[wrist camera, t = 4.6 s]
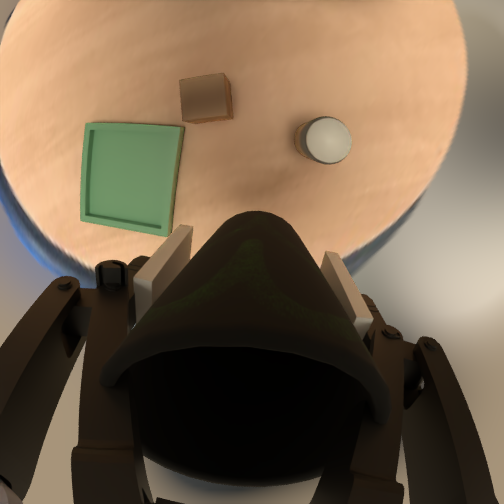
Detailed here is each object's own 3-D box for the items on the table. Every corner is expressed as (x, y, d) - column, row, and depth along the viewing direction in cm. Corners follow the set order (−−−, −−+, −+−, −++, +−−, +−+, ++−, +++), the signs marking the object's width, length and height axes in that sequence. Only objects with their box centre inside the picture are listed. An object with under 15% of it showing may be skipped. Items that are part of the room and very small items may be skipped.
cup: (255, 328, 19) (245, 497, 8) (169, 255, 17) (65, 408, 6) (344, 257, 17) (431, 422, 6) (256, 164, 15) (230, 238, 4)
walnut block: (192, 89, 26) (179, 80, 21) (230, 83, 25) (223, 73, 21) (195, 123, 27) (182, 120, 23) (233, 119, 27) (227, 114, 22)
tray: (92, 123, 27) (85, 122, 25) (184, 127, 27) (180, 127, 26) (87, 217, 31) (80, 220, 30) (171, 232, 32) (167, 237, 30)
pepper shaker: (298, 118, 26) (309, 110, 19) (335, 127, 27) (358, 123, 19) (290, 154, 28) (300, 158, 21) (327, 162, 28) (348, 170, 21)
